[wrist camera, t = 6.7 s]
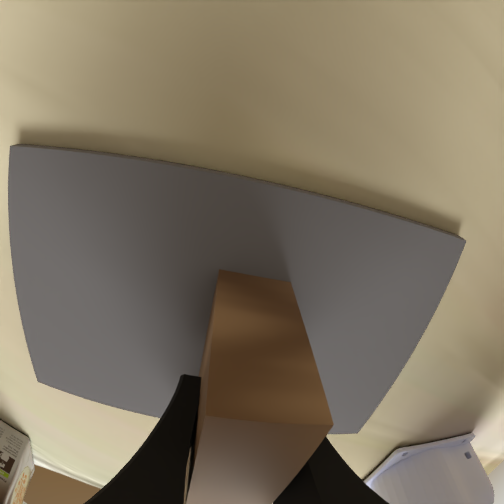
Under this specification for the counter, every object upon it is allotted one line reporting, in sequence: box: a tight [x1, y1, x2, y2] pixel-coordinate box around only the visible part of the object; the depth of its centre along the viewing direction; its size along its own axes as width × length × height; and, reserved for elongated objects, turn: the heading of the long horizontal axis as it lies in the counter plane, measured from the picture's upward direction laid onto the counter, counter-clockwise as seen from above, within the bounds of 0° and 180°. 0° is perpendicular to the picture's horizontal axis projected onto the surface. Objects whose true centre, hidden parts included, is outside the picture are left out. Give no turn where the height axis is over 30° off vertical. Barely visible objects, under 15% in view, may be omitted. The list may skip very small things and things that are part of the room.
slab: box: [184, 269, 334, 504], centre depth 9 cm, size 3×8×6 cm, turn 167°
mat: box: [8, 144, 466, 434], centre depth 12 cm, size 18×12×1 cm, turn 77°
